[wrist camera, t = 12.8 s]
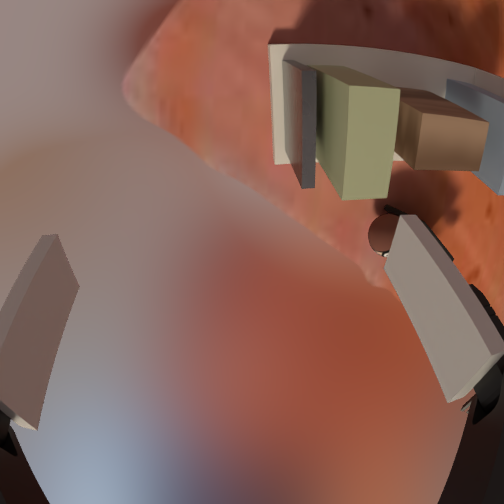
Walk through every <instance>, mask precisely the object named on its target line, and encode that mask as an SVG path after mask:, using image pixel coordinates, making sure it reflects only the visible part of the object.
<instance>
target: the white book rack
mask: <svg viewBox="0 0 504 504" xmlns="http://www.w3.org/2000/svg"><path fill="white" fill-rule="evenodd" d="M268 59H269V77H270V97H271V119H272V143H273V160H274V163H275V165H277V164H291V163H290V161H289V158H288V156H287V154H286V152H285V131H284V97H283V71H282V60H295V61H297V62H299V63H301V64H303V65H306V66H307V65H334V66H345V67H348V68H351V69H353V70H356V71H359V72H361V73H364V74H366V75H369V76H371V77H374V78H376V79H378V80H381V81H383V82H385V83H388V84H390V85H392V86H394V87H402V88H411V89H419V90H426V91H430V92H432V93H434V94H436V95H438V96H440V97H442V98H444V99H445V93H446V83H447V79H452V80H457V81H461V82H466V83H470V84H472V85H475V86H477V87H480V88H482V89H484V90H486V91H489V92H491V93H493V94H495V95H497V96H500V97H502V98H504V78H502V77H499V76H497V75H494V74H491V73H489V72H486V71H483V70H480V69H478V68H475V67H471V66H468V65H464V64H460V63H456V62H452V61H447V60H443V59H438V58H433V57H429V56H423V55H418V54H412V53H406V52H400V51H393V50H386V49H378V48H369V47H358V46H346V45H329V44H268ZM393 161H404V160H403V159H402V158H401V157H400V156H399V155H398V154H397V153H396V152H394V156H393ZM316 162H318V160H317V158H316Z"/></svg>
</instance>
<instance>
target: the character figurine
mask: <svg viewBox="0 0 504 504" xmlns="http://www.w3.org/2000/svg"><path fill="white" fill-rule="evenodd" d="M384 209H385V210H386V211H387V212H388V213H389V214H385V215H381V216H379V217H378V218H376V219H375V220H374V221H373V222H372V224H371V226H370V228H369V232H368V239H369V243H370V245H371V247H372V249H373V250H374V251H375V252H376V253H377V254H379V255H380V256H383V257H388V254H389V251H390V248H391V245H392V241H393V238H394V235H395V231H396V228H397V225H398V221H399V218H400V215H409V214H407V213H405V212H402V211H400V210H398V209H396V208H393V207H391V206H389V205H386V206H385V208H384ZM421 222H422V223H423V224H424V225H425V227H426V228H427V229H428V230H429V232H430V233H431V234H432V235H433V237H434V238H435V239H436V241H437V242H438V243H439V244H440V246H441V247H442V248H443V250H444V251H445V252H446V254H447V255H448V256H449V258H450V259H451V261H452V262H453V260H454V258H453V257H452V255H451V254H450V253H449V251H448V250H447V249H446V248H445V246H444V245H443V244H442V243H441V241H440V240H439V239H438V238H437V236H436V235H435V234H434V233H433V231H432V230H431V229H430V228H429V227H428V225H427V224H426V223H425V222H424V221H422V220H421Z"/></svg>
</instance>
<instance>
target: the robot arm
mask: <svg viewBox="0 0 504 504" xmlns="http://www.w3.org/2000/svg"><path fill="white" fill-rule="evenodd" d="M384 270H385V272H386V273H387V275H388V277H389V279H390V281H391V283H392V284H393V286H394V288H395V290H396V292H397V294H398V296H399V298H400V300H401V302H402V304H403V306H404V308H405V310H406V312H407V314H408V315H409V318H410V320H411V322H412V324H413V326H414V328H415V330H416V332H417V334H418V336H419V338H420V340H421V342H422V345H423V347H424V349H425V351H426V353H427V355H428V358H429V360H430V362H431V364H432V367H433V369H434V371H435V374H436V376H437V378H438V381H439V383H440V385H441V388H442V390H443V392H444V395H445V397H446V400H447V402H448V403H449V402H451V401H454V400H457V399H459V398H462V397H464V396H465V395H466V394H467V393H468V392H469V391H470V390H471V389H472V388H474V390H475V392H476V394H475V395H474V396H473V397H472V398H471V399H470V400H469V401H467V402H466V403H465V404H464V405H463V407H462V409H461V411H464V410H465V409H466V408H468V407H469V406H470V409H469V410H468V411H467V413H468V417H467V421H466V424H465V428H464V431H463V435H462V439H461V442H460V445H459V448H458V451H457V454H456V457H455V460H454V463H453V466H452V469H451V472H450V474H449V477H448V479H447V482H446V485H445V487H444V490H443V492H442V494H441V497H440V499H439V502H438V504H504V326H503V324H502V323H501V321H500V319H499V318H498V316H496V313H495V311H494V310H493V308H492V307H490V304H489V302H488V300H487V299H486V297H485V296H484V294H483V293H482V292H481V291H480V290H478V289H477V288H476V287H475V286H474V285H473V284H470V285H468V283H467V282H466V280H465V279H464V277H463V276H462V275H461V273H460V272H459V270H458V269H457V267H456V266H455V265H454V263H453V262H452V261H451V259H450V258H449V256H448V255H447V254H446V252H445V251H444V250H443V248H442V247H441V246H440V244H439V243H438V242H437V241H436V239H435V238H434V237H433V235H432V234H431V233H430V232H429V230H428V229H427V228H426V227H425V225H424V224H423V223H422V222H421V220H420V219H419V218H418V217H417V215H400V218H399V221H398V225H397V228H396V231H395V235H394V238H393V241H392V245H391V248H390V251H389V254H388V257H387V260H386V263H385V266H384ZM79 287H80V286H79V284H78V282H77V280H76V277H75V276H74V273H73V271H72V268H71V266H70V264H69V261H68V259H67V257H66V254H65V252H64V249H63V247H62V245H61V242H60V239H59V237H58V234H53V235H43V236H42V237H41V238H40V240H39V242H38V243H37V245H36V246H35V248H34V250H33V251H32V253H31V255H30V256H29V258H28V260H27V262H26V264H25V265H24V267H23V269H22V270H21V272H20V274H19V276H18V278H17V279H16V281H15V283H14V285H13V287H12V289H11V291H10V293H9V295H8V297H7V299H6V301H5V303H4V305H3V307H2V309H1V311H0V504H50V503H49V502H48V500H47V498H46V496H45V495H44V493H43V491H42V489H41V487H40V486H39V484H38V482H37V480H36V478H35V476H34V474H33V472H32V470H31V468H30V466H29V464H28V462H27V460H26V458H25V455H24V453H23V451H22V449H21V446H20V444H19V442H18V439H17V437H16V435H15V432H14V430H13V429H12V427H11V426H10V420H11V419H12V420H13V421H14V422H15V423H17V424H18V425H20V426H21V427H25V428H29V429H33V430H38V425H39V421H40V416H41V411H42V407H43V403H44V398H45V394H46V390H47V386H48V382H49V379H50V375H51V371H52V367H53V364H54V361H55V357H56V354H57V351H58V347H59V344H60V341H61V338H62V335H63V331H64V328H65V325H66V322H67V320H68V317H69V314H70V311H71V308H72V305H73V303H74V300H75V297H76V294H77V292H78V289H79Z"/></svg>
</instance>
